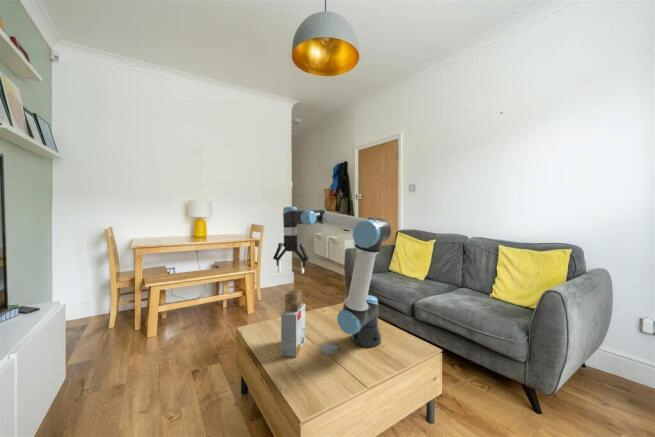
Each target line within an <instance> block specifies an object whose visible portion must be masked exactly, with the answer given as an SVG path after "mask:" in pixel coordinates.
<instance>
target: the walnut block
mask: <svg viewBox="0 0 655 437" xmlns="http://www.w3.org/2000/svg"><path fill="white" fill-rule="evenodd" d="M284 302H285V303H284V308H285V309H284V311H294V312H297V311H298V310H299V309H300V308H301V304H302V291H301V290H291V289H290V290H288V291H287V292H285V293H284Z"/></svg>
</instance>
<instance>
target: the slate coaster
mask: <svg viewBox="0 0 655 437" xmlns="http://www.w3.org/2000/svg"><path fill="white" fill-rule="evenodd" d="M319 351H320V353H322V354H324V355H333V354H336V353H337V352H339V347H338V346H337V344H334V343H331V342H330V343H324V344H321V345H320V347H319Z"/></svg>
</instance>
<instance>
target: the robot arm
mask: <svg viewBox="0 0 655 437" xmlns="http://www.w3.org/2000/svg"><path fill="white" fill-rule="evenodd" d="M282 218H283V243H282V242H278V244H277V246H278V247H277V249H276V251H275V253H274V255H273V257H272V259H273V260H275V261H276V267H277V270H278V271H277V273H281V272H282V257H283V256H284V255H285V254H286V252H292V253H293V252H294V253H295V254H296V255H297V256H298V258H299V259H300V260H301V261H300V269H301V270H300V274H302V275H303V274H304V273H305V268H306V267H307V266H306V265H307V264H306V263H307V261H309V260H310V257H309V256H308V254H307V252H306V249H305V248H304V243H303V242H301V243H298V225H305V226H311V225H312V226H313V225H314V224H320V225H324V226H330V227H334V228H339V229H343V230H347V231H351V232H352V238H353V240H354V248H355V249H356V256H355V260H354V265H353V270H352V276H351V281H350V286H349V292H348V297H346V298H345V299H344V301H343V306H342V310H340V311H339V312H338V314H337V315H336V322H337V325H338V326H339V328H340V329H341V331H343V332H344V333H346V334H347V335H351V340H352V342H353V343H354V345H356V346H359V347H362V348H363V347H364V348H374V347H377V346H379V345H380V344H381V343H382V334H381V331H380V329H379V328H380V327H379V300H378V298H377V297H376V296H374V295H370V294H369V290H370V285H371V280H372V275H373V270H374V266H375V261H376V256H377V255H378V254H379V253H380V252H381V248H382V243H384V242H386V241H387V240H388V239H389V238H390V237H391V234H392V228H391V225H390V223H389V222H388V220H386V219H384V218H378V217H377V218H376V217H371V216H370V217H367V218H363V217H358V216H353V215H349V214H344V213H342V214H341V213H337V212H332V211H328V210H326V209H306V210H302V209H301V210H298V208H297V206H284V207H283V210H282ZM282 247H283V250H282ZM299 249H300V250H299ZM281 250H282V251H281Z"/></svg>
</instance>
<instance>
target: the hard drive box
mask: <svg viewBox="0 0 655 437" xmlns="http://www.w3.org/2000/svg"><path fill="white" fill-rule="evenodd" d="M280 323H281V324H280V356H282V357H290V358H291V357H293V358H297V356H298V355H299V353H300V352H301V350H302V348H303V346H304V344H305V342H306V304H305V303H301V308H300V309H299V310H298V311H297V312H294V311H285V310H284V311H283V312H282V313H281V314H280Z"/></svg>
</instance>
